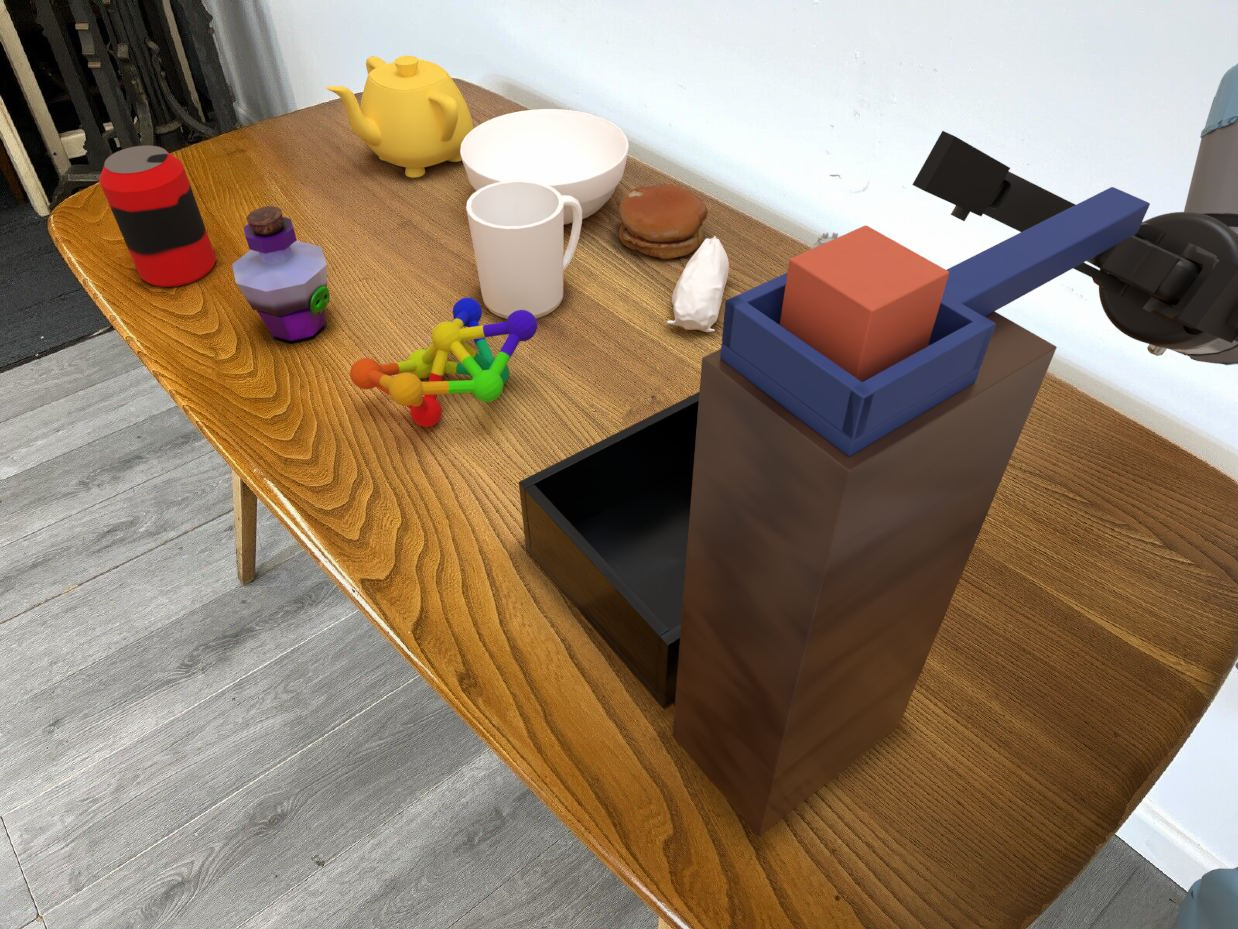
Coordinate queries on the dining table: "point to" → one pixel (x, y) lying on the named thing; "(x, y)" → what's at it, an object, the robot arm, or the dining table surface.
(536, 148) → the bowl
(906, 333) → the block
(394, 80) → the teapot
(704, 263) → the white cloth bag
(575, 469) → the black square open box
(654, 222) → the burger
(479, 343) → the decorative model
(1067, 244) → the blue long-handled scoop
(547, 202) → the mug
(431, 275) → the dining table surface
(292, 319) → the potion bottle
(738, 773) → the stand
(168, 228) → the soda can
